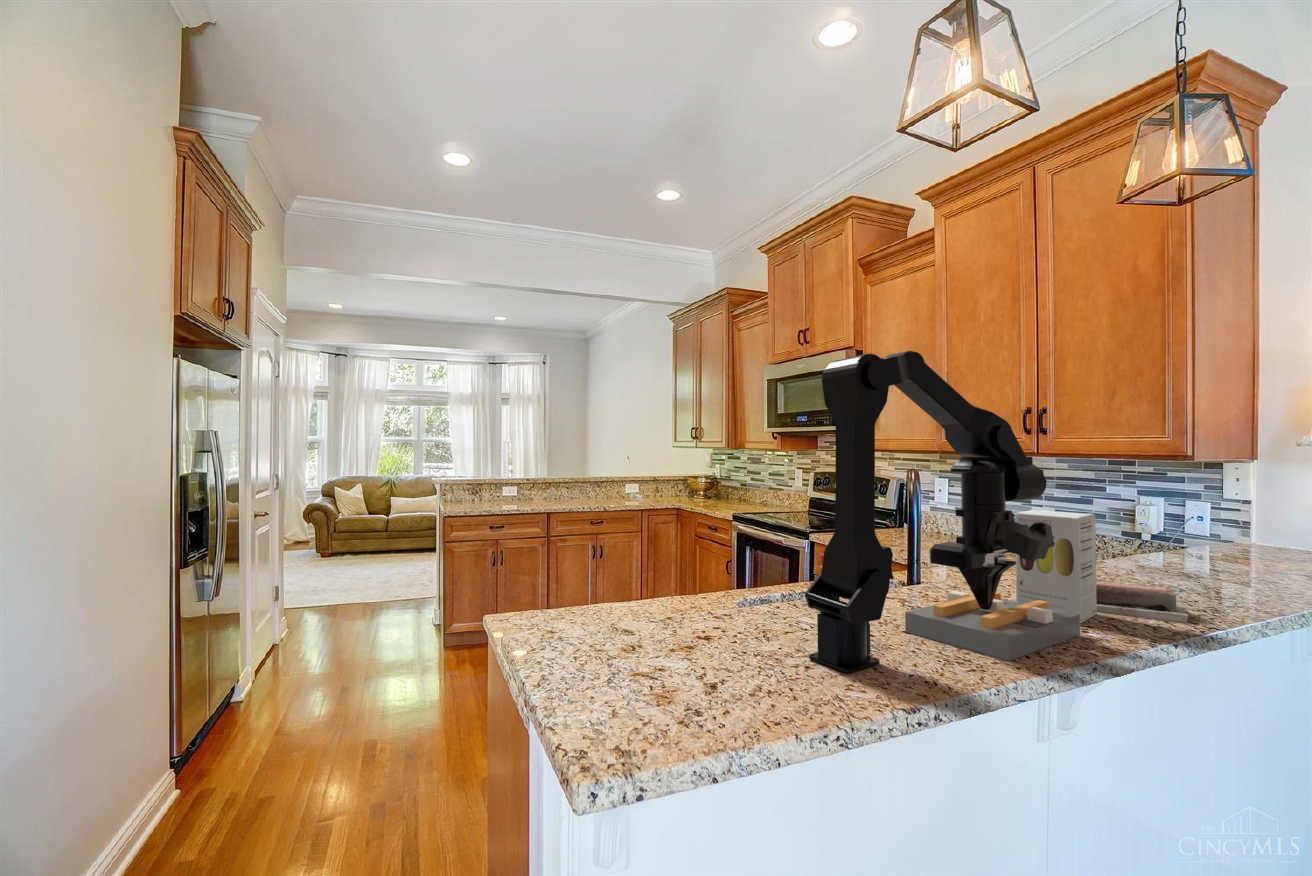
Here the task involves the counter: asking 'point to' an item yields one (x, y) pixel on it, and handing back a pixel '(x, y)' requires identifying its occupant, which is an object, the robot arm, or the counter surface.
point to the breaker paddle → (995, 606)
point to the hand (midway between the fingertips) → (985, 609)
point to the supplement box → (1061, 564)
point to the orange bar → (1010, 614)
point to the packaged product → (1139, 601)
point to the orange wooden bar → (958, 605)
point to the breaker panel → (994, 629)
